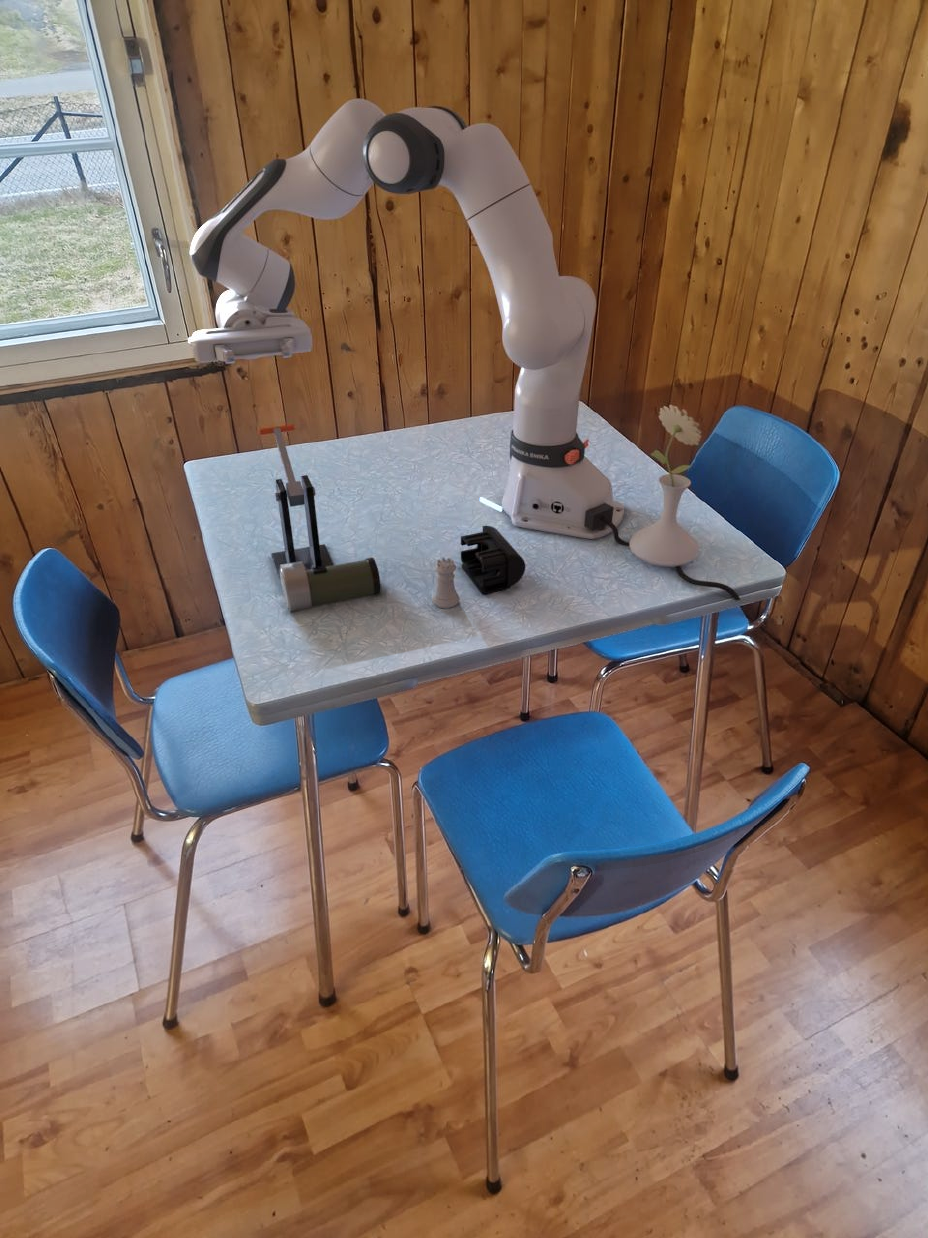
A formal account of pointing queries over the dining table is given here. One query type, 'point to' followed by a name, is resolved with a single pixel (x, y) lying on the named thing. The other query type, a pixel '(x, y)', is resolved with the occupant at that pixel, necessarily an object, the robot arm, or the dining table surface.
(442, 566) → the rook chess piece
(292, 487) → the switch lever
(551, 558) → the dining table surface
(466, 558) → the end cap
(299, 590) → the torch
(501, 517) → the dining table surface
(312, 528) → the black lever stand
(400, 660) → the dining table surface
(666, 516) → the flower in vase
